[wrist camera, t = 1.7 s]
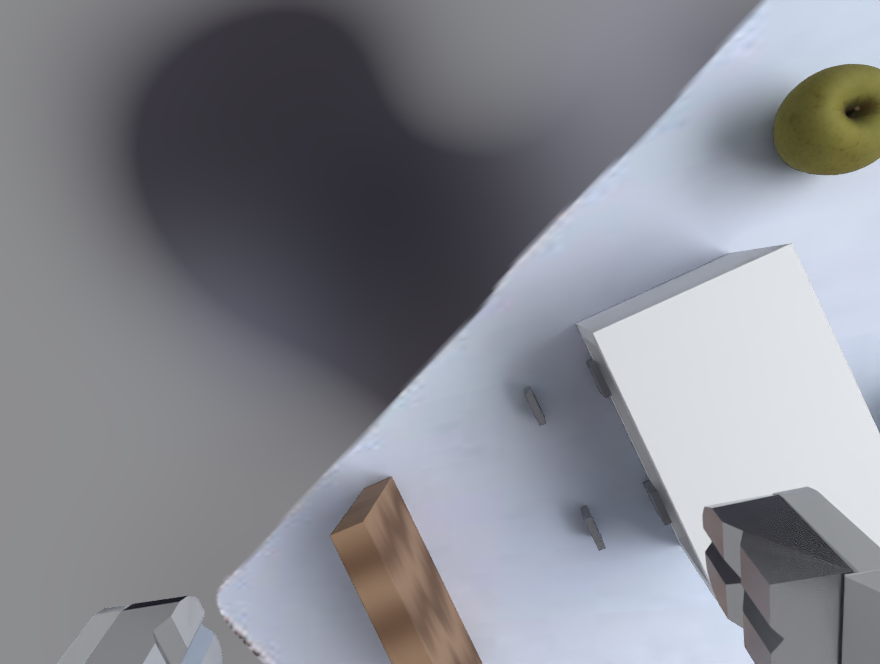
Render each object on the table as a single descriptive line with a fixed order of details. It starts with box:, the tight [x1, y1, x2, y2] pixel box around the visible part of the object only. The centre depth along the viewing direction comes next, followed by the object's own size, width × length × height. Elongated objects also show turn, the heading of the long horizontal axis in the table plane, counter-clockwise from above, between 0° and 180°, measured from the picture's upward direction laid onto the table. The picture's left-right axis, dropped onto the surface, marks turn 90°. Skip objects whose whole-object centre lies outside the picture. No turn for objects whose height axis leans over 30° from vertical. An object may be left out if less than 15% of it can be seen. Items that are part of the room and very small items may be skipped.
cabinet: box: [524, 243, 880, 605], centre depth 42 cm, size 22×21×10 cm
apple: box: [773, 64, 880, 175], centre depth 40 cm, size 8×8×7 cm
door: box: [330, 477, 482, 664], centre depth 46 cm, size 20×4×10 cm, turn 26°
